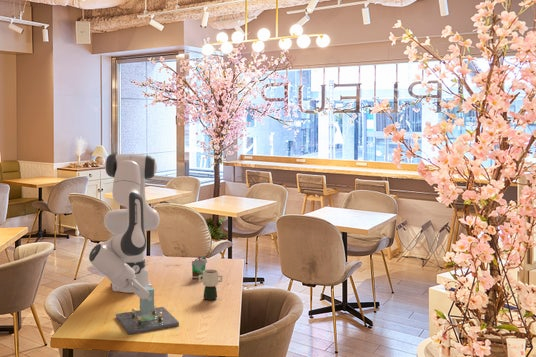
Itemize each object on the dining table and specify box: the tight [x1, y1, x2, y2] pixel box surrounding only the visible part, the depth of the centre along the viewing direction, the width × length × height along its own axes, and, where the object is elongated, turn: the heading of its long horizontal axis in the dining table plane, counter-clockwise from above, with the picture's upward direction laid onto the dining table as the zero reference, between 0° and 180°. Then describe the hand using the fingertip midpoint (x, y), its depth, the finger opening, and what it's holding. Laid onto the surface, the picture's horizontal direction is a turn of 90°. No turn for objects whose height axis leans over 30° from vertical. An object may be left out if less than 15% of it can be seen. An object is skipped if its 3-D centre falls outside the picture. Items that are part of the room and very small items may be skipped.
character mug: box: [198, 268, 223, 301], centre depth 241 cm, size 11×7×13 cm, turn 93°
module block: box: [139, 286, 155, 313], centre depth 211 cm, size 4×4×9 cm
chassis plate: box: [115, 305, 180, 336], centre depth 211 cm, size 20×20×4 cm
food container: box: [191, 255, 208, 280], centre depth 275 cm, size 12×6×10 cm, turn 171°
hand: (148, 297), depth 211 cm, fingers closed on module block, 4 cm apart
